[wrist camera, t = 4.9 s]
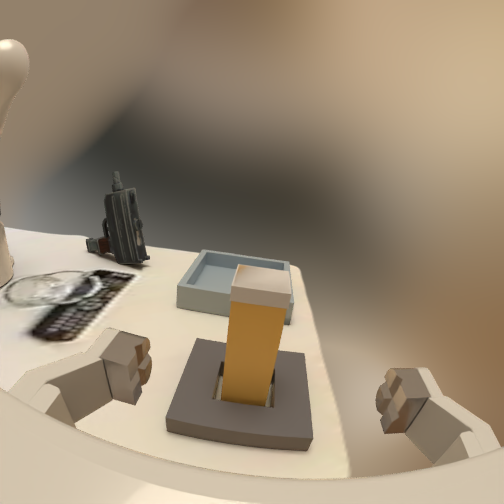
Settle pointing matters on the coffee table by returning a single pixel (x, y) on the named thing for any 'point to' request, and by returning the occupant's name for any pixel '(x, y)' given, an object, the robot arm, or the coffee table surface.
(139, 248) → the gun
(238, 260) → the parts tray
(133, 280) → the coffee table surface
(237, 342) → the block
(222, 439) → the block
